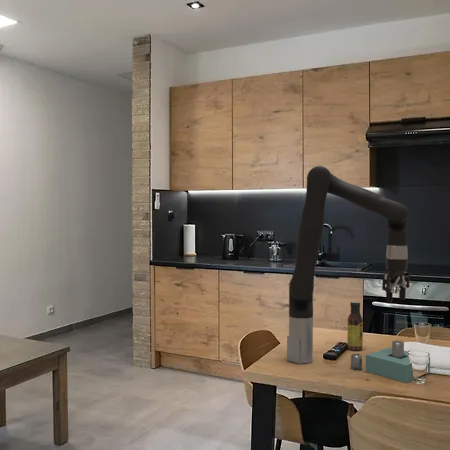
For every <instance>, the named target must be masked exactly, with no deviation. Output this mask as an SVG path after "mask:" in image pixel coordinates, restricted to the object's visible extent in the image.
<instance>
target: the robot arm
mask: <svg viewBox="0 0 450 450" xmlns="http://www.w3.org/2000/svg"><path fill="white" fill-rule="evenodd" d="M307 173H308V174H307V176H306V191H305V192H306V193H305V202H304V204H303V210H302V212H301V213H302V214H301V215H300V216H301V217H300V219H299V220H300V223H299V226H298V230H297V231H298V232H297V238H296V258H295V259H296V260H295V267H294V271H293V275H292V278H291V279H290V280H289V284H288V286H289V287H288V300H289V301H288V336H287V337H286V361H288V362H291V363H294V364H297V365H301V364H309V363H312V362H313V355H314V353H313V350H314V347H313V346H314V345H313V344H314V331H313V330H314V290H315V286H314V285H315V284H314V283H315V270H316V263H317V261H318V258H319V257H318V256H319V253H320V249H321V244H322V240H323V233H324V227H325V205H326V199H327V195H328V194H331V195H333V196H336V197H339V198H341V199H344V200H345V201H347V202H350V203H351V204H354V205H355V206H358V207H360V208H362V209H364V210H365V211H366V210H367V212H370V213H373V214H377V215H379V216H381V217H383V218H385V219H387V236H386V239H387V240H386V245H387V246H386V250H385V251H386V252H385V254H386V258H385V269H386V270H387V271H388V273H383V274H382V282H381V283H382V285H381V290H382V291H385V302H386V303H393V298H394V297H393V291H394V289H395V288H396V287H397V286H398V288H399V289H398V290H399V291H398V298H399V300H402V301H406V297H407V296H406V294H407V293H406V291H407V289H409V288H410V272H409V271H408V272H407V270H408V258H409V257H408V253H409V251H408V250H409V249H408V233H407V219H408V218H409V214H410V213H409V209H408V207H407V206H406V205H405V204H403V203H400V202H398V201H395V200H393V199H389V198H387V197H384V196H383V195H381V194H378V193H377V192H374V191H372V190H369V189H366V188H364V187H361V186H358V185H355V184H352V183H349V182H347V181H345V180H342V179H340V178H339V177H337V176H335V175H334V174H332V173H331V171H330V170H329V169H328V168H327V167H325V166H323V165H317V166H314V167H312V168H311V169H310V170H309V171H308V172H307Z"/></svg>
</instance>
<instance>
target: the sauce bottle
mask: <svg viewBox="0 0 450 450" xmlns="http://www.w3.org/2000/svg"><path fill="white" fill-rule="evenodd" d="M349 306H350V313H349V315H348V317H347V349H348V350H350V351H355V352H356V351H362V350H363V346H364V344H363V341H364V339H363V338H364V334H363V333H364V330H363V329H364V320H363V317H362V314H361V309H360V308H361V302H360V301H353V300H352V301H350V305H349Z"/></svg>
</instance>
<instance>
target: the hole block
mask: <svg viewBox="0 0 450 450" xmlns="http://www.w3.org/2000/svg"><path fill="white" fill-rule="evenodd" d="M408 352H409V351H408V350H404V358H402V359H399V358H395V357H392V346H391V347H386V348H383V349H380V350H378V351H374V352H371V353H368V354H367V353H366V355H365V372H367V373H371V374H374V375H377V376H380V377H384V378H388V379H392V380H394V381H397V382H398V381H399V382H402V383H405V384H407V383H410V382H412V381H414V376H413V370H412V363H410V362H409V359H408V354H407V353H408ZM430 369H431V356H429V363H428V372H427V375H429V374H430V372H431V370H430Z"/></svg>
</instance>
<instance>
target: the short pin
mask: <svg viewBox="0 0 450 450" xmlns="http://www.w3.org/2000/svg"><path fill="white" fill-rule="evenodd" d="M350 369H351V370H352V369H353V371H357V370H359V371H362V369H363V355H362V354H359V353H352V354H350Z"/></svg>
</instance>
